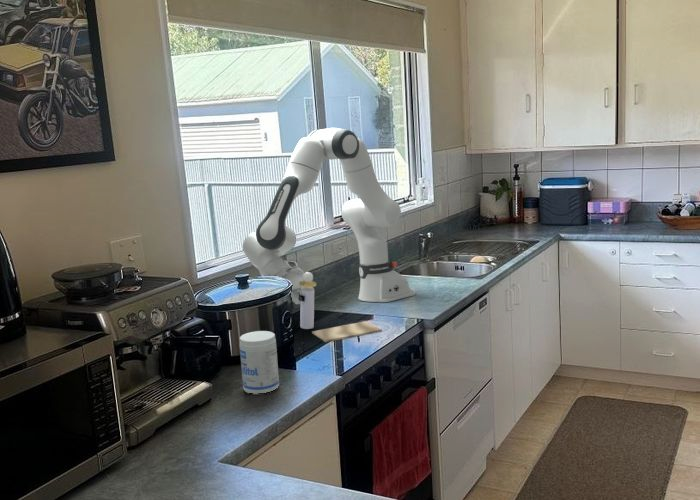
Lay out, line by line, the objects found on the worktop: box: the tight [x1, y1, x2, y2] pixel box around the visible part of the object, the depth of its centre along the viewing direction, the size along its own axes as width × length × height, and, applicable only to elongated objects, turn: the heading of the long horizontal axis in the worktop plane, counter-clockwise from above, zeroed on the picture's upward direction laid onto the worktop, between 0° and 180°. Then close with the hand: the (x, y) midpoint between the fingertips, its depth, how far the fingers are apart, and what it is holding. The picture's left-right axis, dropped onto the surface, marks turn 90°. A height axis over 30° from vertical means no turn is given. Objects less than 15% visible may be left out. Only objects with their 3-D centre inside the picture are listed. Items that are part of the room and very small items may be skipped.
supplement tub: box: [239, 330, 280, 395], centre depth 183 cm, size 10×10×15 cm
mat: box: [311, 320, 383, 343], centre depth 229 cm, size 20×12×1 cm, turn 114°
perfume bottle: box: [299, 271, 317, 330], centre depth 233 cm, size 6×6×20 cm
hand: (300, 302), depth 234 cm, fingers closed
